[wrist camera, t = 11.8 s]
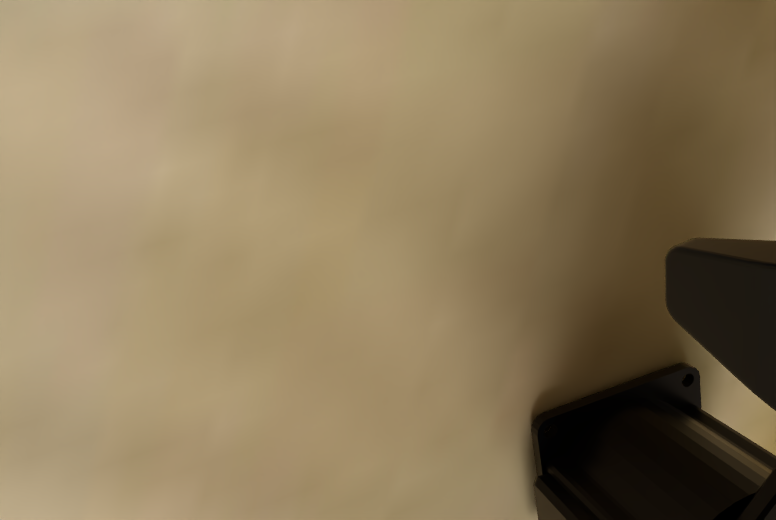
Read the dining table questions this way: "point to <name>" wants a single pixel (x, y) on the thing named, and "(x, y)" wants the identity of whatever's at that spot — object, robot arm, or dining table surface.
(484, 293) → the dining table surface
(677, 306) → the robot arm
